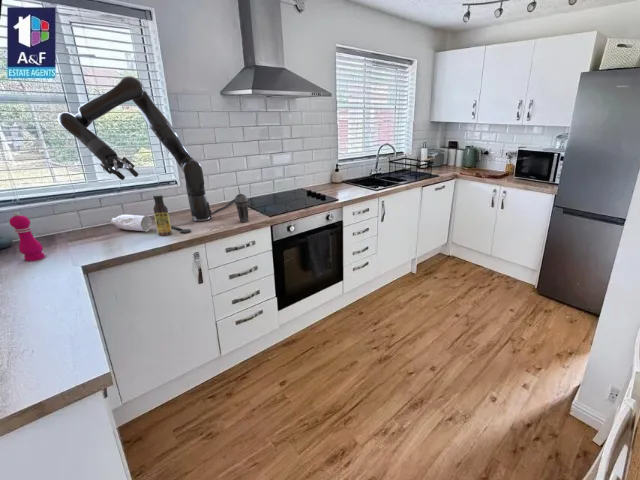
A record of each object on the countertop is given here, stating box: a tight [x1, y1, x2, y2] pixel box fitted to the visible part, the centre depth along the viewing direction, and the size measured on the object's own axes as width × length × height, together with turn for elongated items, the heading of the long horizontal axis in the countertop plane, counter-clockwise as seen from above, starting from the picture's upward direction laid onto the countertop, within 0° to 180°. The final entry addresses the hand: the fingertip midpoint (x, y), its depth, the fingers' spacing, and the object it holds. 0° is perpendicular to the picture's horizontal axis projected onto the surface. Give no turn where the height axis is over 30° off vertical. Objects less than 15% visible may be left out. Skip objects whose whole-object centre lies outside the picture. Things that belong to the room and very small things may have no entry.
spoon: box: [171, 225, 192, 235], centre depth 195 cm, size 5×18×1 cm, turn 60°
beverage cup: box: [234, 186, 249, 223], centre depth 208 cm, size 7×7×20 cm
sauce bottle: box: [152, 194, 173, 236], centre depth 184 cm, size 7×6×20 cm
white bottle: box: [110, 214, 153, 232], centre depth 191 cm, size 8×19×8 cm, turn 82°
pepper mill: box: [9, 211, 46, 262], centre depth 151 cm, size 7×7×20 cm
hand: (130, 177), depth 177 cm, fingers open, 8 cm apart
